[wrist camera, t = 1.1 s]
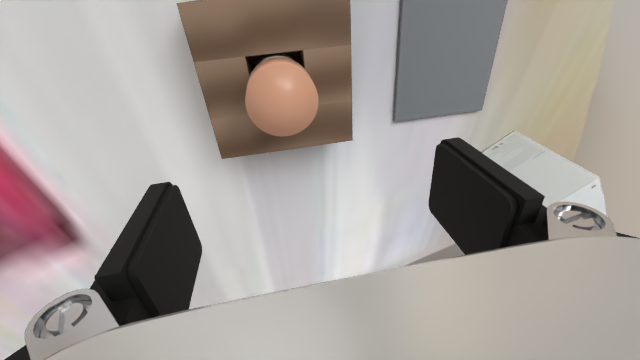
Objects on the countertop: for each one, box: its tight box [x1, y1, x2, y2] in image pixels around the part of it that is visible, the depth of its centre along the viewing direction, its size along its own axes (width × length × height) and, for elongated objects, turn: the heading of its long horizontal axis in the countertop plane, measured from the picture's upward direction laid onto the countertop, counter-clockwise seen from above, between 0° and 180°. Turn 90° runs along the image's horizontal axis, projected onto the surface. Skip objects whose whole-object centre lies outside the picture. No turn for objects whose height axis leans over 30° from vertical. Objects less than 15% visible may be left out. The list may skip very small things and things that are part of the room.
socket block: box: [177, 0, 352, 159], centre depth 30 cm, size 14×14×6 cm
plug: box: [245, 52, 318, 136], centre depth 27 cm, size 6×6×11 cm
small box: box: [482, 131, 606, 215], centre depth 40 cm, size 8×6×13 cm
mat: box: [393, 0, 507, 122], centre depth 35 cm, size 16×12×1 cm
